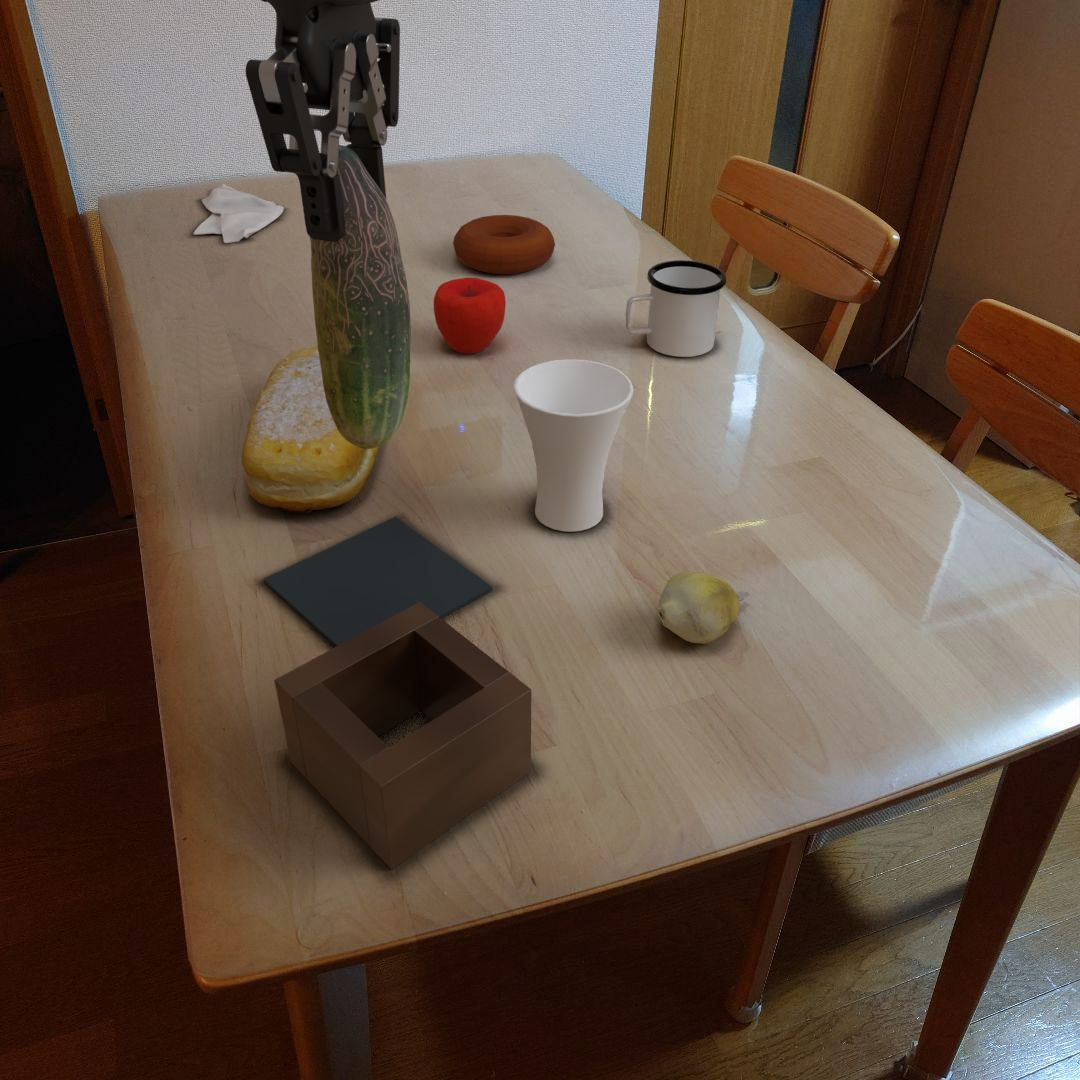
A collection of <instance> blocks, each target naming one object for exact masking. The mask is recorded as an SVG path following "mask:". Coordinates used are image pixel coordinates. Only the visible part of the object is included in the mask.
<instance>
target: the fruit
mask: <svg viewBox="0 0 1080 1080" xmlns="http://www.w3.org/2000/svg"><path fill="white" fill-rule="evenodd" d="M749 596H751V593H749V592H748V591H740V592H736V591H735V590H734V587H732V586H731V585H730V584H729V582H727V581H726V580H723V579H721V578H719V577H716V576H715V575H713V574H709V573H706V572H700V571H682V572H677V573H675V574H674V575H672V576H671V577H670V578H669V580H668V581H667V582H666V584H665V586H664V588H663V590H662V592H661V595H660V598H659V602H658V607H656V608H655V610H656V612H657V615H658V618H659V619H660V621H661V623H662V625H663V626H664V627H665V628H667V629H668V630H670V632H672V633H673V634H675V635H677V636H678V637H679V638H681V639H682V640H684V641H686V642H689V643H693V644H703V645H707V644H709V643H712V642H713V641H714V640H717V639H719V638H720V637H721V636H723V635H724V634H725V633H726V632H727V631H728V630H729V628H730V627H731V625H732V623H733V622H734V621H736V619H737V618H738V616H739V614H740V610H741V609H740V608H741V607H740V606H741V604H740V602H742V601H744V600H745V599H747V598H748V597H749Z"/></svg>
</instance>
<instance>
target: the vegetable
mask: <svg viewBox="0 0 1080 1080" xmlns="http://www.w3.org/2000/svg"><path fill="white" fill-rule="evenodd" d="M346 146H347V145H341V144H339V153H338V170H337V174H336V175H339V176H340V185H341V194H342V203H343V212H344V221H345V230H346V233H345V235H344V237H342V238H341V239H340V240H338V241H336V242H331V241H324V240H316V239H312V238H311V237H310V236H309V241H310V255H311V257H310V268H311V269H310V270H311V289H312V290H311V291H312V303H313V315H314V324H315V325H314V326H315V335H316V344H317V347H318V352H319V359H320V365H321V372H322V379H323V386H324V392H325V397H326V401H327V405H328V408H329V410H330V413H331V416H332V418H333V420H334V423H335V425H336V427H337V429H338V431H339V432H340V434H341V435H342V436H343V437H344V439H346V440H347V441H348V442H350V443H352V444H353V445H355V446H357V447H360V448H363V449H372V448H376V447H378V446H379V447H381V446H383V445H384V444H386V443H388V441H390V439H391V438H392V437H393V436H395V434H396V433H397V431H398V429H399V427H400V425H401V423H402V422H403V419H404V415H405V411H406V407H407V404H408V403H407V402H408V397H409V390H410V382H411V381H410V380H411V377H410V376H411V339H412V338H411V334H412V333H411V332H412V325H411V324H412V323H411V321H412V319H411V305H410V296H409V288H408V282H407V281H408V280H407V275H406V272H405V268H404V262H403V256H402V252H401V245H400V240H399V236H398V235H399V234H398V230H397V226H396V223H395V220H394V216H393V213H392V211H391V208H390V206H389V203H388V201H387V198H386V199H385V197H384V195H383V193H382V192H381V190H380V189H379V187H378V186H377V184H376V183H375V181H374V180H373V179H372V177H371V176H370V174H369V173H368V171H367V170H366V168H365V167H364V165H363V164H362V162H361V160H360V159H359V157H358V156H357V154H356V153H355V152H354V151H353V150H352V149H350V148H348V147H346Z"/></svg>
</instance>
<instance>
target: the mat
mask: <svg viewBox="0 0 1080 1080" xmlns="http://www.w3.org/2000/svg"><path fill="white" fill-rule="evenodd" d="M263 583H264V584H265V585H267V586H268V587H269V589H270V590H272V591H273V593H275V594H276V595H278V596H279V597H280V598H281V599H282V600H283V601H284V602H285V603H287V604H288V605H289V606H290V607H291V608H292V609H293V610H294V611H295V612H296V613H297V614H299V615H300V617H302V618H303V619H304V620H305V621H306V622H307V623H308V624H310V625H311V627H313V628H314V629H315V630H316V631H317V632H318V633H320V635H322V636H323V637H324V638H325V639H326V640H327V641H328V642H330V643H331V644H332V645H333V646H334V648H335V647H337V646H339V645H340V644H342V643H344V642H346V641H348V640H350V639H352V638H354V637H355V636H357V635H359V634H361V633H363V632H365V631H367V630H368V629H370V628H372V627H374V626H376V625H378V624H380V623H381V622H383V621H385V620H387V619H389V618H391V617H393V616H395V615H396V614H398V613H400V612H402V611H404V610H406V609H408V608H409V607H411V606H413V605H415V604H417V603H419V602H421V603H422V604H423V605H425V606H426V607H427V608H428V609H430V610H431V611H432V612H434V613H435V614H436V615H437V616H438V617H440V618H441V619H443V618H445V617H447V616H448V615H450V614H453V613H454V612H456V611H458V610H459V609H461V608H463V607H465V606H466V605H469V604H470V603H472V602H474V601H475V600H477V599H479V598H481V597H483V596H485V595H487V594H489V593H491V592H492V591H493V586H492V585H491V584H489V583H487V582H486V581H485V580H483V579H482V578H481V577H480V576H478V575H477V574H475V572H473V571H471V570H470V569H469V568H468V567H465V566H464V565H463V564H461V562H459V561H457V560H456V559H455V558H453V557H452V556H451V555H450V554H448V553H446V552H445V551H443V550H442V549H441V548H440V547H438V546H436V545H435V544H433V543H432V541H430V540H428V539H427V538H426V537H424V536H423V535H421V534H420V533H419V532H417V531H416V530H414V529H413V528H411V526H409V525H408V524H406V523H404V522H403V521H402V520H401V519H399V518H398V517H396V516H394V517H392V518H390V519H387V520H386V521H384V522H381V523H379V524H376V525H375V526H372V527H371V528H369V529H367V530H364V531H362V532H360V533H357V534H356V535H354V536H351V537H350V538H347V539H345V540H343V541H341V542H339V543H337V544H335V545H333V546H330V547H328V548H326V549H324V550H322V551H320V552H318V553H316V554H313V555H311V556H309V557H307V558H305V559H303V560H301V561H298V562H296V563H294V564H292V565H290V566H288V567H286V568H283V569H281V570H279V571H276V572H275V573H272V574H271V575H269V576H267V577H264V578H263Z"/></svg>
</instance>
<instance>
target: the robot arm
mask: <svg viewBox="0 0 1080 1080" xmlns="http://www.w3.org/2000/svg"><path fill="white" fill-rule="evenodd" d="M261 1H262V2H264V3H268V4H269V5H270V6H271V7H272V8H273V9H274V10H275V36H274V37H275V38H274V48H275V51H274V52H273V53H272V54H271V55H270V56H269V57H268V58H267V59H252V58H251V59H248V60H247V63H246V65H245V78H246V81H247V84H248V89H249V91H250V95H251V99H252V102H253V105H254V109H255V112H256V116H257V120H258V124H259V127H260V131H261V134H262V138H263V141H264V145H265V148H266V152H267V155H268V158H269V162H270V166H271V168H272V170H273V171H274V172H278V173H290V174H295V175H296V177H297V179H298V182H299V188H300V197H301V203H302V210H303V211H302V212H303V216H304V219H303V220H304V225H305V230H306V234H307V235H308V236H309V238H310V237H311V238H312V239H316V240H324V241H331V242H336V241H338V240H340V239H341V238H342V237H344V235H345V233H346V230H345V221H344V212H343V203H342V194H341V185H340V176H339V175H336V174H337V170H338V153H339V145H340V138H341V136H342V137H343V140H344V142H346V143H348V144H346V145H345V146H346V147H348V148H350V149H352V150H353V151H354V152H355V153H356V154H357V156H358V157H359V159H360V160H361V162H362V164H363V165H364V167H365V168H366V170H367V171H368V173H369V174H370V176H371V177H372V179H373V180H374V181H375V183H376V184H377V186H378V187H379V189H380V190H381V192H382V193H383V195H384V197H385V199H386V200H387V192H386V178H385V169H384V167H385V166H384V156H383V147H382V146H385V145H386V143H387V141H388V127H391V128H392V127H393V128H395V127H397V126H398V123H399V116H400V115H399V114H400V56H401V54H400V53H401V25H400V22H399V20H398V19H397V18H388V17H387V18H386V17H375V14H374V10H373V7H372V3H375V2H379V1H380V0H261ZM310 109H311V110H312V109H313V110H323V111H328V112H327V113H326V114H323V115H321V114H311V112H310ZM316 132H320V135H321V139H320V140H321V141H320V148H319V144H318V141H317V136H316ZM284 135H288V136H289V139H288V140H289V141H288V143H289V144H288V147H287V143H286V139H285V136H284ZM319 149H320V150H319Z"/></svg>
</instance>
